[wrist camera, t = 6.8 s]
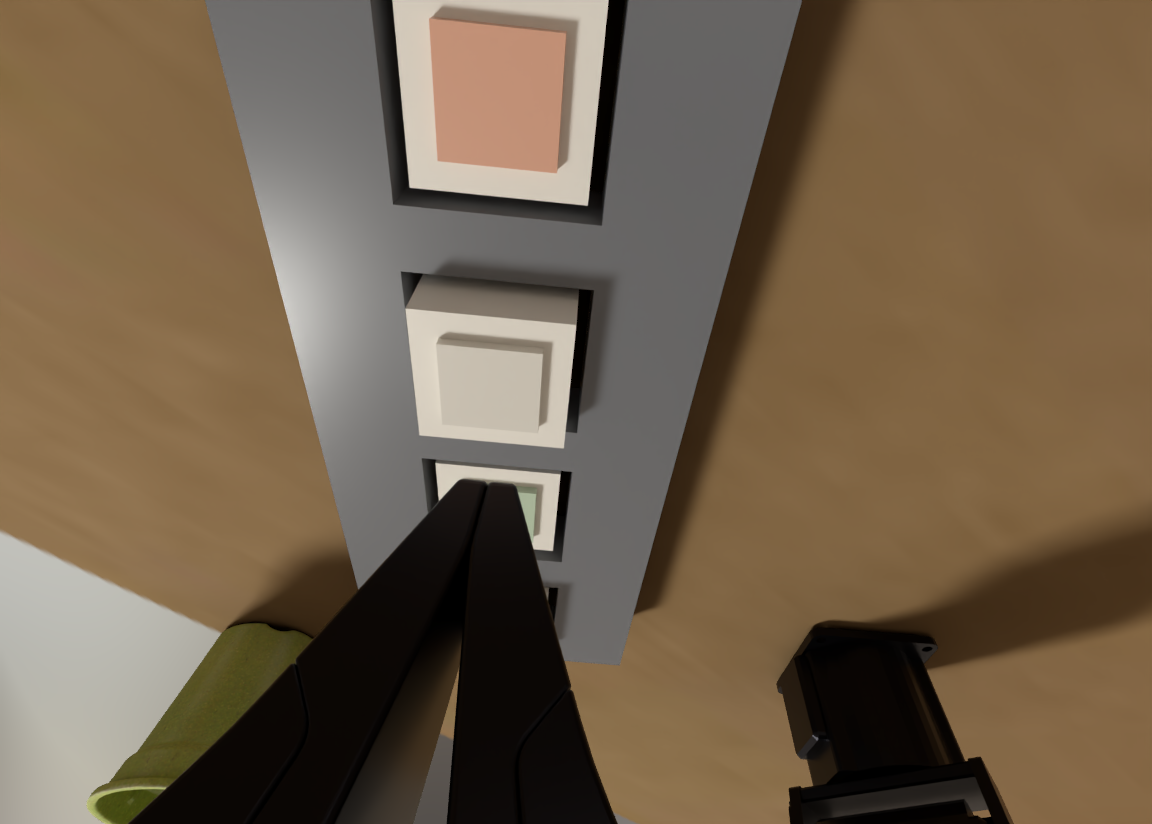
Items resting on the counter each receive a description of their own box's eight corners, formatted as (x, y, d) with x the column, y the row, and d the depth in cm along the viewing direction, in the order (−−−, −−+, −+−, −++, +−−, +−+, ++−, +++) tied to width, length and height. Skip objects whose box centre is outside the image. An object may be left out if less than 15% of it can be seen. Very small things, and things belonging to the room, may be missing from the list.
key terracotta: (609, -20, 13) (610, -10, 12) (589, 178, 16) (587, 210, 14) (414, -41, 13) (384, -36, 11) (428, 162, 16) (406, 191, 14)
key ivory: (579, 287, 17) (576, 331, 15) (566, 407, 20) (563, 455, 18) (423, 272, 17) (402, 314, 15) (434, 394, 19) (417, 442, 18)
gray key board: (791, -75, 13) (822, -74, 11) (618, 620, 31) (619, 665, 29) (231, -139, 12) (166, -149, 11) (387, 601, 30) (372, 645, 29)
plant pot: (283, 587, 30) (192, 777, 23) (392, 672, 35) (343, 846, 29) (153, 622, 33) (38, 801, 26) (272, 696, 38) (202, 860, 31)
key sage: (563, 436, 22) (559, 480, 21) (556, 512, 25) (552, 557, 23) (447, 425, 22) (433, 469, 20) (452, 503, 25) (440, 547, 23)
